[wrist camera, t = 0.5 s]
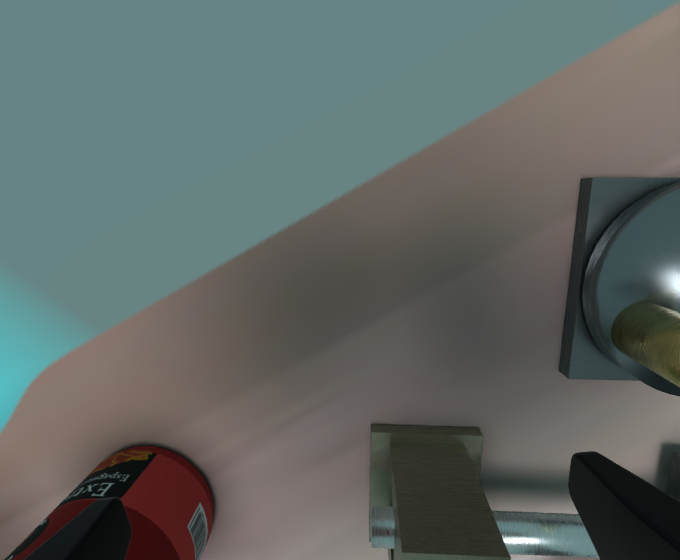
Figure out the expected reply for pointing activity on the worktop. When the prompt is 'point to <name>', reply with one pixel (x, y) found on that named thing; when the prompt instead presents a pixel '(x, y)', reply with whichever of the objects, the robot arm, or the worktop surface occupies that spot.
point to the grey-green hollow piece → (433, 493)
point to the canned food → (142, 505)
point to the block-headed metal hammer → (526, 528)
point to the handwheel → (639, 290)
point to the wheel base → (592, 221)
